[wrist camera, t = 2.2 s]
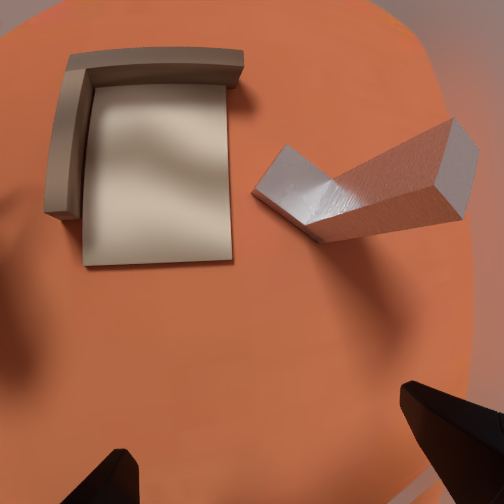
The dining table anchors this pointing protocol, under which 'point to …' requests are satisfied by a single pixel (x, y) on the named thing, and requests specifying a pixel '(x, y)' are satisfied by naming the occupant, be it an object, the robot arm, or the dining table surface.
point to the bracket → (376, 187)
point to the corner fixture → (145, 153)
